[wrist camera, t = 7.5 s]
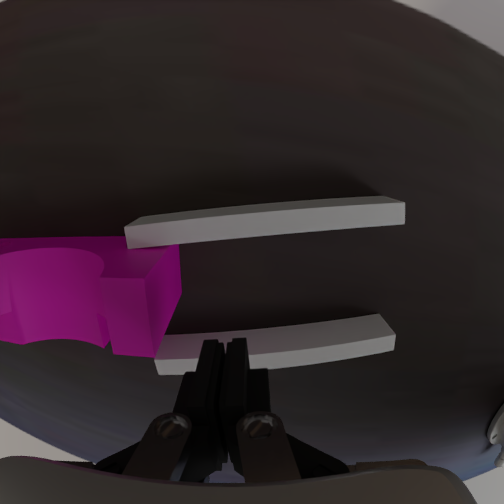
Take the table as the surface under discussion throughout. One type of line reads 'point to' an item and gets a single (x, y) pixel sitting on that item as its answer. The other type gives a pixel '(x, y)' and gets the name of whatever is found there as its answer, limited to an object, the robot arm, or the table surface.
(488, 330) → the table surface
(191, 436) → the robot arm
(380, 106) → the table surface
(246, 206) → the guide channel
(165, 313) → the toy block
